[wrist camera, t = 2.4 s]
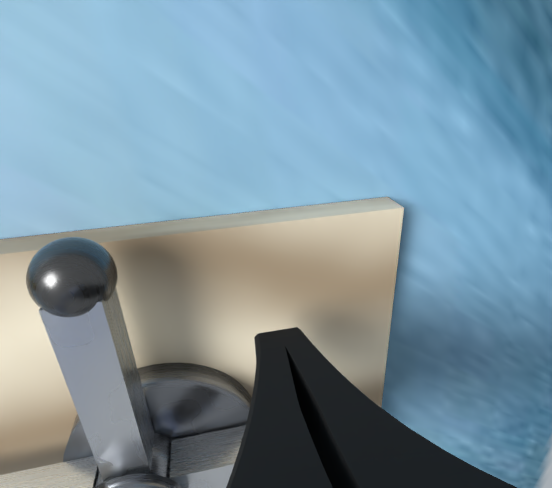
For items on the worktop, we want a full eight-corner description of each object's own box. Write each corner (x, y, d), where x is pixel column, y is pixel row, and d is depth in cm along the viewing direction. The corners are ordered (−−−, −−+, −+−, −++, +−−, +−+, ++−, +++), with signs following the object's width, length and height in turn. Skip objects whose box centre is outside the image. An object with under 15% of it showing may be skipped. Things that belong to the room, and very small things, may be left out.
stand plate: (361, 473, 21) (371, 495, 20) (4, 558, 18) (-8, 589, 17) (387, 196, 14) (403, 207, 13) (-191, 260, 11) (-233, 281, 10)
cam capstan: (352, 511, 20) (382, 595, 17) (-24, 606, 17) (-74, 731, 14) (379, 181, 12) (445, 222, 9) (-307, 251, 9) (-569, 349, 6)
